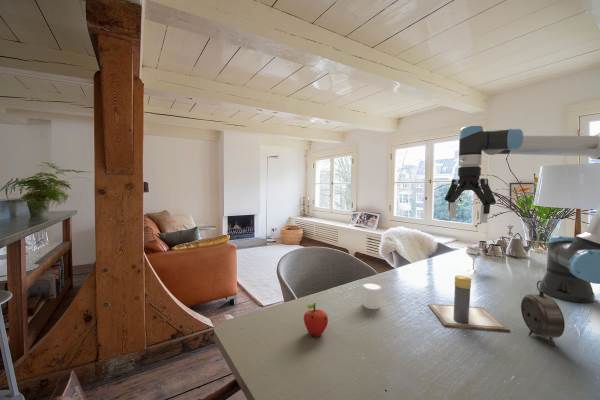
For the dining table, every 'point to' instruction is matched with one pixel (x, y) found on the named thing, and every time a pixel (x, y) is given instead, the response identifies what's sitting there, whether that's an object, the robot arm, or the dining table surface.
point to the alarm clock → (542, 315)
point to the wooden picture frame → (477, 318)
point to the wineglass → (474, 255)
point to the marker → (462, 299)
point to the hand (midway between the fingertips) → (467, 220)
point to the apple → (315, 321)
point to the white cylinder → (371, 295)
